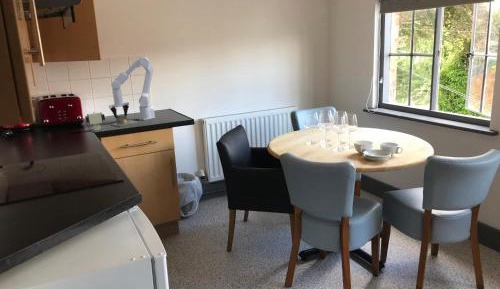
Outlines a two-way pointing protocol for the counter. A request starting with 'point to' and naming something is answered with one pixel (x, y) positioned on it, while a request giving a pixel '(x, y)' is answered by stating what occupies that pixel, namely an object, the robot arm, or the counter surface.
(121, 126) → the mount plate
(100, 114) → the pneumatic valve
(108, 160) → the counter surface
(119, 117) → the knob
